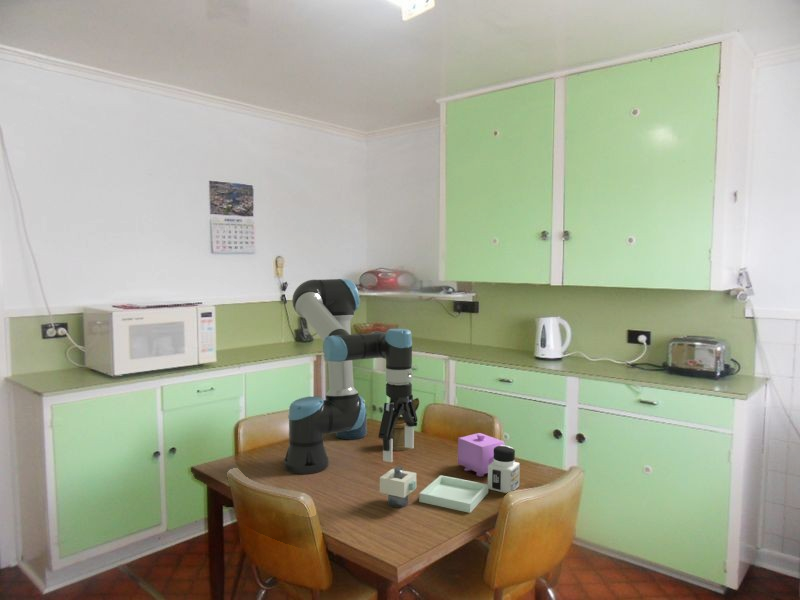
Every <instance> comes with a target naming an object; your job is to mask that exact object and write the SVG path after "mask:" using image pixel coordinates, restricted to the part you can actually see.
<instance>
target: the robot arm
mask: <svg viewBox="0 0 800 600" xmlns="http://www.w3.org/2000/svg"><path fill="white" fill-rule="evenodd" d="M359 293H360V292H359V290H358V287H357V285H356V284H355V283H354V281H352V280H350V279H346V278H345V279H344V278H337V279H336V278H335V279H334V278H333V279H331V278H330V279H328V278H327V279H308V280H306V281H304V282H302V283H300V284H299V285H298V286H297V287H296V288H295V290H294V292H293V294H292V302H291V303H292V307H293V309H294V311H295V312H296V314H297V315H298V316H300V318H302V319H305V320H306V321H307V323H308V324H309V326H310V327H311V328H312V329H313V330H314V332H316V335H318V337H319V338H320V339H321V341H322V352H323V354H324V358H325V360H326V361H327V363H328V364H327V365H328V381H329V382H328V383H329V384H328V385H329V389H328V391H327V392H326V393H325V399H324V398H323V397H321V396H318V395H315V396H304V397H301V398H298V399H296V400H294V401H292V402H291V403H290V405H289V409H288V411H289V412H288V436H289V437H288V443H289V444H288V448H287V451H286V455H285V458H284V461H283V463H284V465H283V466H284V467H283V468H284V470H286V471H287V472H289V473H291V474H300V475H306V474H307V475H308V474H309V475H310V474H313V473H314V474H315V473H319V472H322V471H324V470H326V469H327V468H328V467H329V457H328V454H327V450H326V447H325V445H324V436H325V435H329V434H334V433H335V432H342V431H350V430H354V429H358V428H359V427H360V426H361V425H362V423H363V422H364V419H365V412H366V413H367V408H365V405H366V404H365V402H364V400H365V399H364V398H363V397H362V396H360V395H359V391H358V390H357V389H356V388H355V387H354V370H353V369H354V367H353V365H354V364H353V361H356V360H369V359H384V360H385V382H386V383H385V395H386V396H387V398H389V399H390V400H389V402H384V404H383V414H382V418H381V421H380V427H379V432H378V436H377V437H378V439H380V440H381V439H382V462H387V463H393V462H394V460H393V459H394V458H393V457H394V456H393V455H394V454H393V451H394V450H393V439H391V436H392V433H393V430H394V427H395V424H396V421H397V419H398V418H399V417H403V419H404V421H405V423H406V425H408V426H405V447H406V448H409V449H414V447H415V445H414V444H415V443H414V442H415V427H417V426H418V416H417V410H416V411H415V407H414V403H413V400H414V396H413V395H414V394H413V393H412V392H413V389H412V388H413V386H412V380H413V378H412V377H413V370H412V367H413V365H412V364H413V339H412V337H413V336H412V332H411V330H410V329H408V328H390V329H387V330H386V332H384V331H377V330H376V331H372V332H370V333H359V334H354V333H353V334H352V333H351V332H352V331H351V330H352V329H351V328H352V327H351V321H352V319H353V317H355V312H357V311H358V309H359V307H360V303H361V302H360V301H361V300H360V294H359ZM363 399H364V400H363ZM335 434H336V433H335Z"/></svg>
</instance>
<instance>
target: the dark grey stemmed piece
mask: <svg viewBox="0 0 800 600" xmlns="http://www.w3.org/2000/svg"><path fill="white" fill-rule="evenodd" d="M393 469H394V472H395V478H398V479H402V470H403V466H402V465H398V466H397V467H395V468H393ZM387 504H388V506H390V507H391V508H395V509H398V508H399V509H401V508H405V507H407V506H408V505H409V494H408V495H407V496H406V497H405V498H403V497H398V496H393V495H389V494H387Z"/></svg>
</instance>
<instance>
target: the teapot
mask: <svg viewBox="0 0 800 600" xmlns="http://www.w3.org/2000/svg"><path fill="white" fill-rule="evenodd" d="M501 445H504V446H505V441H503V440H501V439H498V438H496V437H492V436H490V435H487V434H484V433H481V432H478V433H477V432H476V433H473V434H469V435H466V436H462V437H461V436H460V437H458V439H457V464H458V465H460V466H461V467H464V468H463V470H464V472H465V471H466V472H469V471H470V472H471V471H472V472H475V473H476V475H475V476H477V477H482V478H483V477H484V476H485V475H486V474H488V465H489V464H491V463H492V462H493V461H494V448H495V447H497V446H501Z"/></svg>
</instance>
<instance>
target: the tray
mask: <svg viewBox="0 0 800 600" xmlns="http://www.w3.org/2000/svg"><path fill="white" fill-rule="evenodd" d="M488 494H489V489H488V483H484V482H483V483H482V482H478V481H472V480H466V479H462V478H458V477H452V476H446V475H442V474H441V475H440V474H439V476H438V477H437V478H435V479H434V480H433V481H432V482H431V483H429V484H428V485H427V486H426V487H425V488H423V489H422V490H421V491H420V492H419V493H418V495H419V497H418V498H419V500H418V501H419V503H422V504H423V503H424V504H428V505H433V506H436V507H437V506H438V507H442V508H447V509H451V510H455V511H460V512H465V513H469V514H470V513H472V511H473V510H474V509H475V508H476V507H477V506H478V505H479V504H480V503H481V502H482V500H483V499H484V498H485V497H486V496H487V495H488Z"/></svg>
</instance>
